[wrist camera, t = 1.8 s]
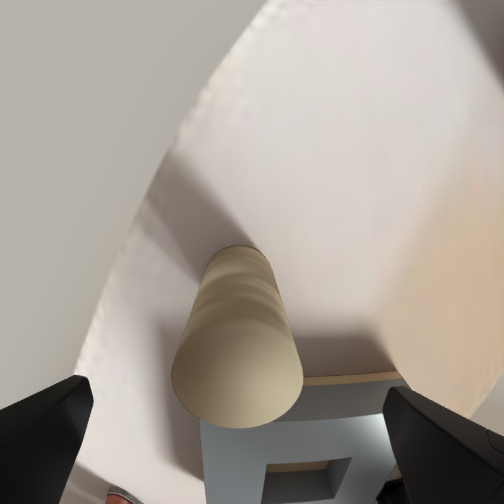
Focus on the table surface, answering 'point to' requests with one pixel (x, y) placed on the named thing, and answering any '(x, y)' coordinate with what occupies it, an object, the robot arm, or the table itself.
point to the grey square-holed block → (307, 447)
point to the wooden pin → (237, 345)
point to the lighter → (121, 497)
